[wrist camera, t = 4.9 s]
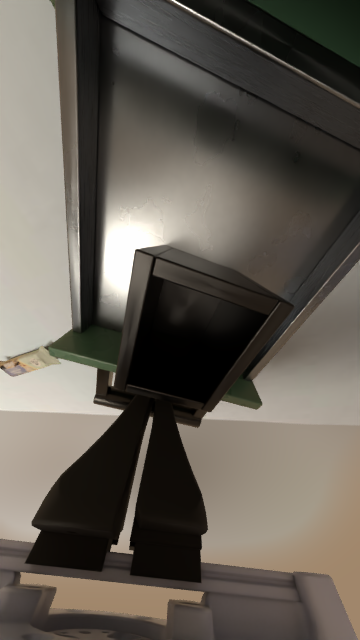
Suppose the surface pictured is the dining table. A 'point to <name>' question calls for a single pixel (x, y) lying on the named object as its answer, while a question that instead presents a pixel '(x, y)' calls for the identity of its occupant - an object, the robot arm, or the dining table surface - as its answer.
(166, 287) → the black tin
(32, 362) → the granola bar
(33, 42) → the dining table surface
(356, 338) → the dining table surface
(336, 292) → the dining table surface
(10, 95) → the dining table surface
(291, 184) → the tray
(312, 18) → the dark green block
